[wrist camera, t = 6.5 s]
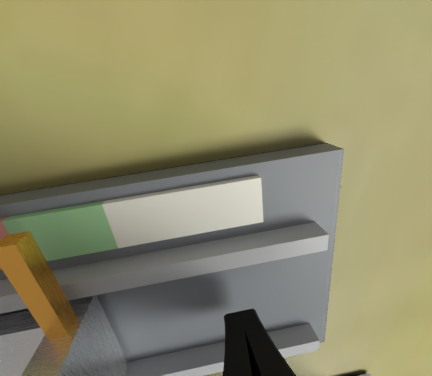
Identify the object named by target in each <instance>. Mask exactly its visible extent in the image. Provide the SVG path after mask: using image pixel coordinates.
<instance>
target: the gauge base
mask: <svg viewBox="0 0 432 376" xmlns="http://www.w3.org/2000/svg"><path fill="white" fill-rule="evenodd" d="M343 153H344V149H342V148H339V147H337V146H334V145H331V144H328V143H323V144H317V145H311V146H305V147H298V148H292V149H286V150H280V151H274V152H267V153H261V154H255V155H249V156H242V157H236V158H230V159H224V160H218V161H211V162H205V163H199V164H193V165H186V166H180V167H174V168H168V169H162V170H155V171H149V172H143V173H137V174H131V175H124V176H118V177H112V178H106V179H99V180H93V181H87V182H81V183H75V184H68V185H62V186H56V187H50V188H43V189H37V190H31V191H25V192H19V193H12V194H6V195H0V240H1V239H2V238H4V237H5V236H6V235H10V234H16V233H21V232H27V231H30V232H31V234H32V236H33V237H34V239H35V241H36V243H37V245H38V247H39V248H40V250H41V252H42V254H43V256H44V258H45V259H46V261H47V263H48V265H49V267H50V269H51V270H52V272H53V274H54V276H55V278H56V280H57V281H58V283H59V285H60V287H61V289H62V290H63V292H64V294H65V296H66V298H67V300H73V299H78V298H84V297H89V296H94V295H96V296H97V298H98V300H99V302H100V304H101V306H102V308H103V310H104V313H105V315H106V317H107V319H108V321H109V323H110V325H111V327H112V330H113V332H114V334H115V336H116V338H117V340H118V342H119V344H120V347H121V349H122V351H123V353H124V355H125V357H126V359H127V361H128V363H127V368H126V372H125V376H205V375H209V374H214V373H218V372H223V368H224V354H225V322H224V316H225V314H228V313H233V312H238V311H243V310H248V309H252V308H253V309H255V310H256V312H257V315H258V317H259V319H260V321H261V322H262V324H263V326H264V328H265V330H266V331H267V333H268V335H269V336H270V338H271V340H272V341H273V343H274V344H275V346H276V347H277V349H278V350H279V352H280V353H281V355H282V356H283V358H285V357H290V356H294V355H299V354H303V353H308V352H312V351H317V350H319V343H321V342H324V340H325V330H326V321H327V311H328V301H329V291H330V281H331V271H332V261H333V252H334V242H335V232H336V222H337V212H338V202H339V193H340V183H341V173H342V163H343ZM24 311H29V309H28V308H27V306H26V305H25V303H24V302H23V300H22V299H21V297H20V296H19V294H18V293H17V291H16V290H15V288H14V287H13V285H12V284H11V282H10V281H9V279H8V278H7V276H6V275H5V273H4V272H3V270H2V269H1V267H0V316H3V315H9V314H14V313H19V312H24Z"/></svg>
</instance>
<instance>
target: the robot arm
mask: <svg viewBox="0 0 432 376" xmlns="http://www.w3.org/2000/svg"><path fill="white" fill-rule="evenodd" d="M224 322H225V354H224V368H223V376H296V375H295V374H294V372H293V371H292V369H291V368H290V367H289V365H288V364H287V362H286V361H285V359H284V358H283V356H282V355H281V353H280V352H279V350H278V349H277V347H276V346H275V344H274V343H273V341H272V340H271V338H270V336H269V335H268V333H267V331H266V330H265V328H264V326H263V324H262V322H261V321H260V319H259V317H258V315H257V312H256V310H255V309H253V308H252V309H248V310H243V311H238V312H233V313H228V314H225V316H224ZM359 376H372V375H371V374H363V375H359Z"/></svg>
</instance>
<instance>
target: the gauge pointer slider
mask: <svg viewBox="0 0 432 376" xmlns="http://www.w3.org/2000/svg"><path fill="white" fill-rule="evenodd" d="M0 267H1V269H2V270H3V272H4V273H5V275H6V276H7V278H8V279H9V281H10V282H11V284H12V285H13V287H14V288H15V290H16V291H17V293H18V294H19V296H20V297H21V299H22V300H23V302H24V303H25V305H26V306H27V308H28V309H29V311H24V312H19V313H14V314H9V315H3V316H0V376H125V372H126V368H127V363H128V361H127V359H126V357H125V355H124V353H123V351H122V349H121V347H120V344H119V342H118V340H117V338H116V336H115V334H114V332H113V330H112V327H111V325H110V323H109V321H108V319H107V317H106V315H105V313H104V310H103V308H102V306H101V304H100V302H99V300H98V298H97V296H96V295H94V296H89V297H84V298H78V299H73V300H67V298H66V296H65V294H64V292H63V290H62V289H61V287H60V285H59V283H58V281H57V280H56V278H55V276H54V274H53V272H52V270H51V269H50V267H49V265H48V263H47V261H46V259H45V258H44V256H43V254H42V252H41V250H40V248H39V247H38V245H37V243H36V241H35V239H34V237H33V236H32V234H31V232H30V231H27V232H21V233H16V234H10V235H6V236H5V237H4V238H2V239H1V240H0Z"/></svg>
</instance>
